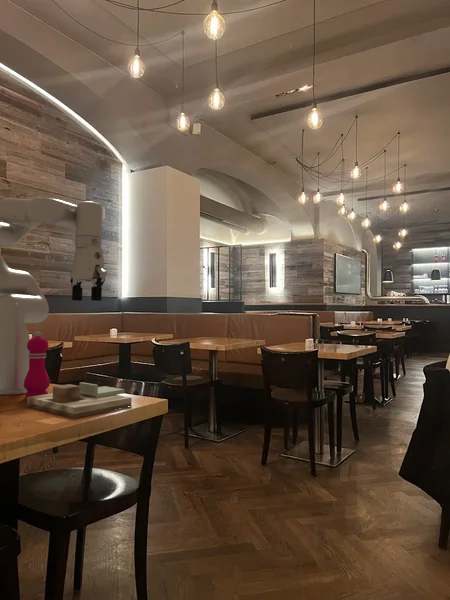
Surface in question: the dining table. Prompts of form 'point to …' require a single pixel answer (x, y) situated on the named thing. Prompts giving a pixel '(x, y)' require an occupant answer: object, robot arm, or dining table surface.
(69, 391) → the walnut cube
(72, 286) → the robot arm
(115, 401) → the board
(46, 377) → the pepper mill
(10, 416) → the dining table surface
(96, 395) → the lid
